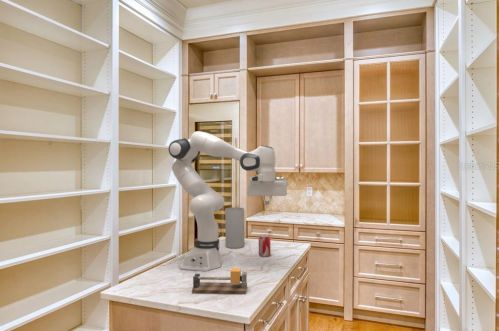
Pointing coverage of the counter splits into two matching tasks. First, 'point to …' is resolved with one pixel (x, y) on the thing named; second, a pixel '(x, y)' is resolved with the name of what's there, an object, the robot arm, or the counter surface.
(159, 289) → the counter surface
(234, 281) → the notched orange cube
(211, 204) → the robot arm
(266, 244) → the soda can
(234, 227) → the cylinder vase
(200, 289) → the cord board
